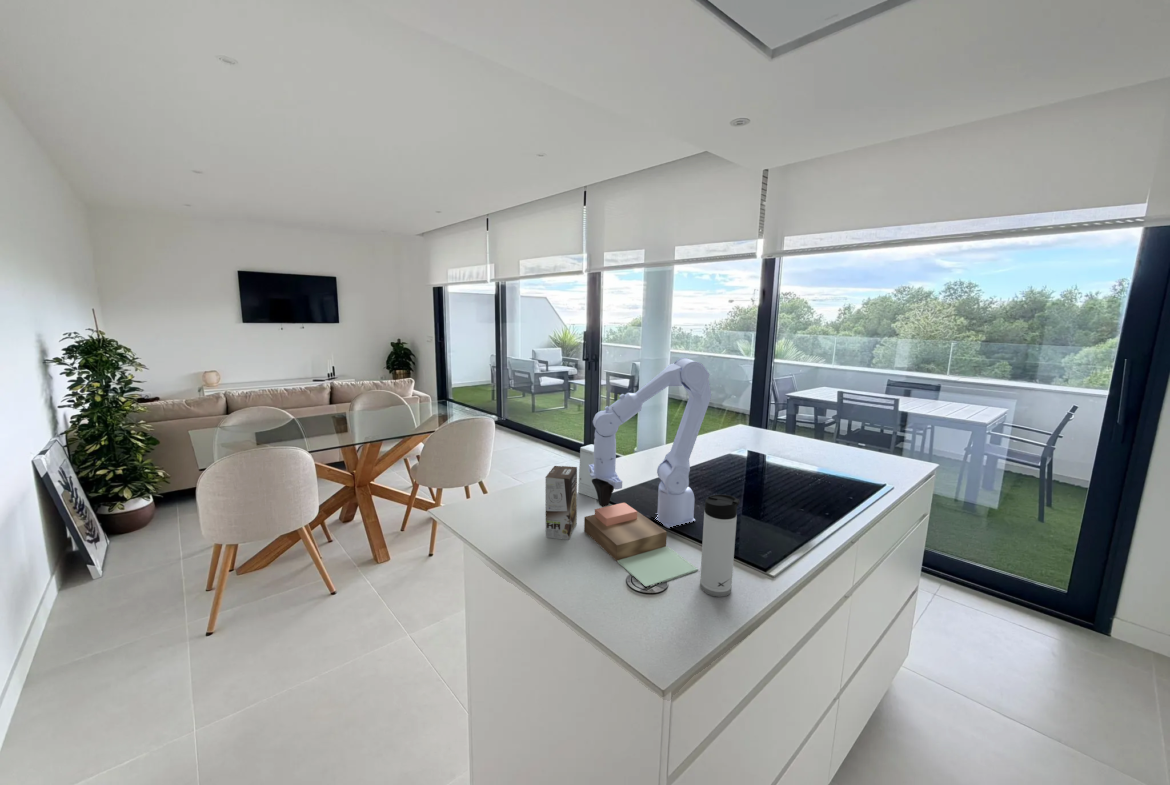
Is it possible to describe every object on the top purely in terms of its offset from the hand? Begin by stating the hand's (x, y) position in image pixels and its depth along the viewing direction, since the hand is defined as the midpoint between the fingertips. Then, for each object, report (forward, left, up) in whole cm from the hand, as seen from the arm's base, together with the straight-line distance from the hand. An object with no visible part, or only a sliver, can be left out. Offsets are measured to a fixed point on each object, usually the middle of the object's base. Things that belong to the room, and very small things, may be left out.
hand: (604, 505), depth 122 cm
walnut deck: (0, +10, -5) cm, 11 cm away
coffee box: (+12, -1, -5) cm, 13 cm away
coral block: (0, +6, -1) cm, 6 cm away
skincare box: (-7, -18, -5) cm, 20 cm away
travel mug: (-6, +36, -5) cm, 37 cm away
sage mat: (0, +24, -5) cm, 24 cm away
